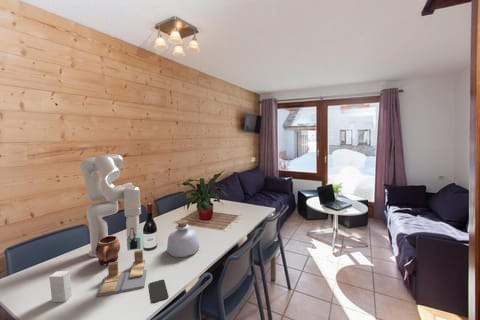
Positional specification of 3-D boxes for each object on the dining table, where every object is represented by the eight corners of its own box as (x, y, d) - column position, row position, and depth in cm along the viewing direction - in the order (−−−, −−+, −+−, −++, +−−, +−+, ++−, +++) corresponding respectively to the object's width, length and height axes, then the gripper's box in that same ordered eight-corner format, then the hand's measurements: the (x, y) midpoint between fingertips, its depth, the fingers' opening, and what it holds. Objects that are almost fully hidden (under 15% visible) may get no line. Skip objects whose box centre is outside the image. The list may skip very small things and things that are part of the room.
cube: (129, 245, 119) (128, 234, 118) (141, 243, 121) (141, 232, 120) (127, 250, 113) (126, 239, 113) (140, 248, 115) (139, 237, 114)
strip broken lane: (107, 275, 117) (106, 263, 117) (120, 273, 119) (119, 261, 118) (104, 284, 111) (103, 270, 110) (118, 281, 112) (117, 268, 112)
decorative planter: (120, 268, 126) (118, 244, 124) (93, 274, 121) (91, 249, 119) (121, 252, 144) (120, 230, 142) (99, 256, 139) (97, 234, 137)
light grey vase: (202, 243, 154) (202, 216, 152) (194, 258, 135) (193, 228, 133) (174, 242, 156) (173, 215, 154) (161, 257, 137) (160, 227, 135)
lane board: (104, 278, 117) (104, 274, 117) (146, 271, 123) (146, 267, 123) (96, 296, 104) (96, 292, 103) (144, 287, 110) (144, 283, 109)
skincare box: (72, 295, 105) (70, 270, 104) (65, 302, 101) (63, 276, 99) (58, 295, 105) (56, 271, 103) (51, 302, 100) (48, 276, 99)
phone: (164, 278, 116) (169, 297, 102) (164, 280, 116) (169, 299, 102) (148, 283, 112) (151, 302, 99) (148, 284, 112) (151, 304, 99)
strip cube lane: (133, 262, 129) (132, 251, 128) (145, 261, 131) (144, 249, 130) (129, 278, 115) (128, 265, 114) (142, 276, 116) (141, 263, 116)
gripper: (127, 206, 122) (129, 239, 124) (121, 218, 106) (123, 255, 108) (142, 205, 124) (144, 237, 126) (138, 216, 108) (140, 252, 110)
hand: (134, 245), depth 117 cm, fingers closed on cube, 6 cm apart
